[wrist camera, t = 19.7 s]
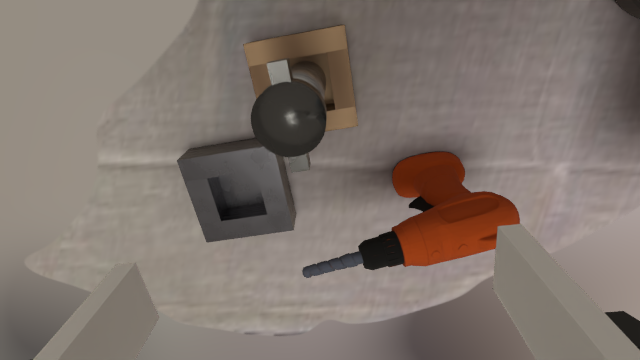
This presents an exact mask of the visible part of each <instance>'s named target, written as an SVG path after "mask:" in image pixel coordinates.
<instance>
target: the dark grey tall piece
mask: <svg viewBox="0 0 640 360" xmlns="http://www.w3.org/2000/svg"><path fill="white" fill-rule="evenodd" d="M267 68H268V72H269V76H270V81H271V85H269V86H268V87H267V88H266V89H265V90H264V91H263V92H262V93H261V94H260V95H259V97H258V98H257V99H256V101H255V103H254V105H253V108H252V113H251V124H252V129H253V132H254V134H255V136H256V138H257V139H258V141H259V142H260V143H261V144H262V145H263V146H264V147H265V148H266V149H267V150H269V151H270V152H272V153H274V154H277V155H280V156H284V157H288V159H289V163H290V168H291V172H292V173H293V172H299V171H306V170H310V158H309V153H308V152H310V151H311V150H313V149H314V148H315V147H316V146H317V145H318V144H319V143H320V141H321V140H322V138H323V136H324V133H325V129H326V120H327V109H326V104H325V101H324V97H325V89H326V77H325V74H324V72H323V70H322V69H321V68H320V66H318V65H317V64H315V63H313V62H310V61H301V62H298V63H296V64H294V65H293V66H292V67H291V65H290V60H289V58H285V59H280V60H275V61H270V62H268V63H267Z"/></svg>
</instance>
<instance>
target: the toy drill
mask: <svg viewBox="0 0 640 360" xmlns="http://www.w3.org/2000/svg"><path fill="white" fill-rule="evenodd" d="M464 177H465V170H464V167H463V165H462V163H461V161H460V159H459V158H458V157H457V156H456V155H454V154H452V153H448V152H431V153H425V154H420V155H416V156H412V157H409V158H406V159H404V160H402V161H401V162H399V163H398V164H397V165H396V167H395V168H394V171H393V175H392V181H393V185H394V188H395V190H396V192H397V193H398V195H400V196H402V197H406V198H412V197H418V198H416V199H415V200H414V201H412V202H411V203H410V204H409V208H415V209H418V210H421V211H423V213H420V214H418V215H416V216H413V217H410V218H408V219H407V220H405V221H403V222H401V223H400V224H398V225H397V226H394V227H392V231H391V232H387V233H384V234H381V235H379V236H378V237H375V238H372V239H368V240H364V241H363V242H362V243H361V244H360V245H359V246H358V247H359V251H358V252H355V253H351V254H349V253H348V254H345V255H343V256H341V257H339V258H334V259H331V260H328V261H323V262H320V263H317V264H313V265H310V266H306V267H304V268H303V271H302V272H303V275H304V277H306V278H310V277H311V276H317V275H321V274H324V272H325V273H328V272H332V271H335V269H336V270H339V269H345V268H347V267H354V266H357V265H358V264H362V263H363V265H364V268H366V269H370V270H375V269H378V268H382V267H386V266H388V267H392V266H396V265H400V264H403V266H405V267H406V266H410V265H413V266H428V265H432V264H436V263H440V262H445V261H449V260H453V259H457V258H462V257H466V256H470V255H473V254H477V253H481V252H485V251H488V250H491V249H496V241H497V229H498V226H505V225H515V224H520V218H519V213H518V211H517V209H516V207H515V205H514V204H513V203H512V202H511V201H510V200H508V199H507V198H505V197H503V196H501V195H498V194H495V193H492V192H485V191H483V192H474V193H471V192H470V191H468V190H467V189H466V188H465V187H464V186H463V185H462V184H461V183H462V182H463V180H464Z"/></svg>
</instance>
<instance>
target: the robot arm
mask: <svg viewBox="0 0 640 360" xmlns="http://www.w3.org/2000/svg"><path fill="white" fill-rule="evenodd" d="M615 1H616V2H617V3H618V4H619V5H620V6H621V7H622V8H623V9H624V10H625V11H626V12H628V13H629V14H631V15H632V16H634V17H636V18H639V19H640V0H615ZM493 290H494V291H495V293H496V295H497V297H498V298H499V300H500V301H501V303H502V305H503V306H504V308H505V309H506V311H507V313H508V314H509V316H510V318H511V319H512V321H513V323H514V324H515V326H516V328H517V329H518V331H519V333H520V334H521V336H522V338H523V339H524V341H525V342H526V344H527V346H528V347H529V349H530V351H531V352H532V354H533V355H534V357H535V359H536V360H640V321H639V320H637V319H635V318H634V317H632V316H631V315H629V314H627V313H625V312H624V311H618V312H606V313H604V312H603V311H602V310H601V309H600V308H599V306H598V305H597V304H596V303H595V302H594V301H593V300H592V299H591V298H590V297H589V296H588V295H587V294H586V293H585V292H584V291H583V290H582V288H581V287H580V286H579V285H578V284H577V283H576V282H575V281H574V280H573V279H572V278H571V277H570V276H569V275H568V274H567V273H566V272H565V270H564V269H563V268H562V267H561V266H560V265H559V264H558V263H557V262H556V261H555V260H554V259H553V258H552V257H551V256H550V254H549V253H548V252H547V251H546V250H545V249H544V248H543V247H542V246H541V245H540V244H539V243H538V242H537V241H536V240H535V239H534V237H533V236H532V235H531V234H530V233H529V232H528V231H527V230H526V229H525V228H524V227H523V226H522V225H521V224H515V225H505V226H498V229H497V241H496V254H495V266H494V279H493ZM158 319H159V316H158V313H157V311H156V309H155V306H154V304H153V302H152V299H151V297H150V295H149V292H148V290H147V288H146V285H145V283H144V281H143V278H142V276H141V274H140V271H139V269H138V267H137V264H136V263H127V264H117V265H115V267H114V268H113V269H112V270H111V271H110V272H109V273H108V275H107V276H106V277H105V278H104V279H103V280H102V281H101V283H100V284H99V285H98V286H97V287H96V288H95V290H94V291H93V292H92V293H91V294H90V295H89V296H88V298H87V299H86V300H85V301H84V302H83V303H82V304H81V306H80V307H79V308H78V309H77V310H76V311H75V312H74V314H73V315H72V316H71V317H70V318H69V319H68V320H67V322H66V323H65V324H64V325H63V326H62V327H61V329H60V330H59V331H58V332H57V333H56V334H55V335H54V337H53V338H52V339H51V340H50V341H49V342H48V343H47V344H46V346H45V347H44V348H43V349H42V350H41V352H39V354H38V355H37V356H36V357H35V358H34V359H32V360H135V359H136V358H137V356H138V354H139V352H140V351H141V349H142V347H143V345H144V344H145V342H146V340H147V338H148V337H149V335H150V333H151V331H152V330H153V328H154V326H155V324H156V323H157V321H158Z"/></svg>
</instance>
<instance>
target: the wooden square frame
mask: <svg viewBox="0 0 640 360" xmlns="http://www.w3.org/2000/svg"><path fill="white" fill-rule="evenodd" d="M243 46H244V50H245V54H246V58H247V62H248V66H249V70H250V74H251V78H252V82H253V86H254V90H255V94H256V98H258V97H259V95H260V94H261V93H262V92H263V91H264V90H265V89H266V88H267V87H268V86H269V85H271V81H270V76H269V72H268V68H267V63H268V62H270V61H275V60H280V59H285V58H289V60H290V65H291V67H292V66H293V65H294V64H296V63H298V62H301V61H310V62H313V63H315V64H317V65H318V66H320V68H321V69H322V70H323V72H324V74H325V77H326V89H325V97H324V101H325V104H326V109H327V120H326V129H325V131H330V130H336V129H343V128H349V127H355V126H358V122H357V114H356V107H355V100H354V92H353V85H352V77H351V70H350V62H349V55H348V47H347V40H346V33H345V25H339V26H334V27H328V28H323V29H318V30H313V31H307V32H302V33H297V34H292V35H286V36H281V37H276V38H271V39H265V40H260V41H255V42H250V43H246V44H243Z"/></svg>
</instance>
